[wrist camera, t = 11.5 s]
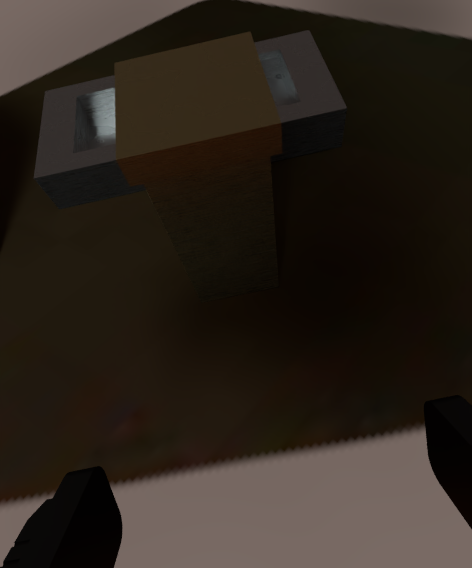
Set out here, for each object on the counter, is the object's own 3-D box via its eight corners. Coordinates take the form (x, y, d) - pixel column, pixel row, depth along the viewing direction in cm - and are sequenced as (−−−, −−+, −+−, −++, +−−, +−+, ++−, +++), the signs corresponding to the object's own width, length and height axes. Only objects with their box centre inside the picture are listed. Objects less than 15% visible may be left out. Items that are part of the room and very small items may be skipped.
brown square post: (196, 309, 21) (115, 159, 12) (186, 236, 24) (114, 63, 14) (286, 290, 21) (281, 122, 12) (267, 219, 24) (250, 31, 14)
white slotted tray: (59, 209, 27) (33, 178, 24) (66, 125, 31) (45, 91, 28) (341, 146, 26) (347, 108, 23) (307, 69, 30) (309, 29, 28)
